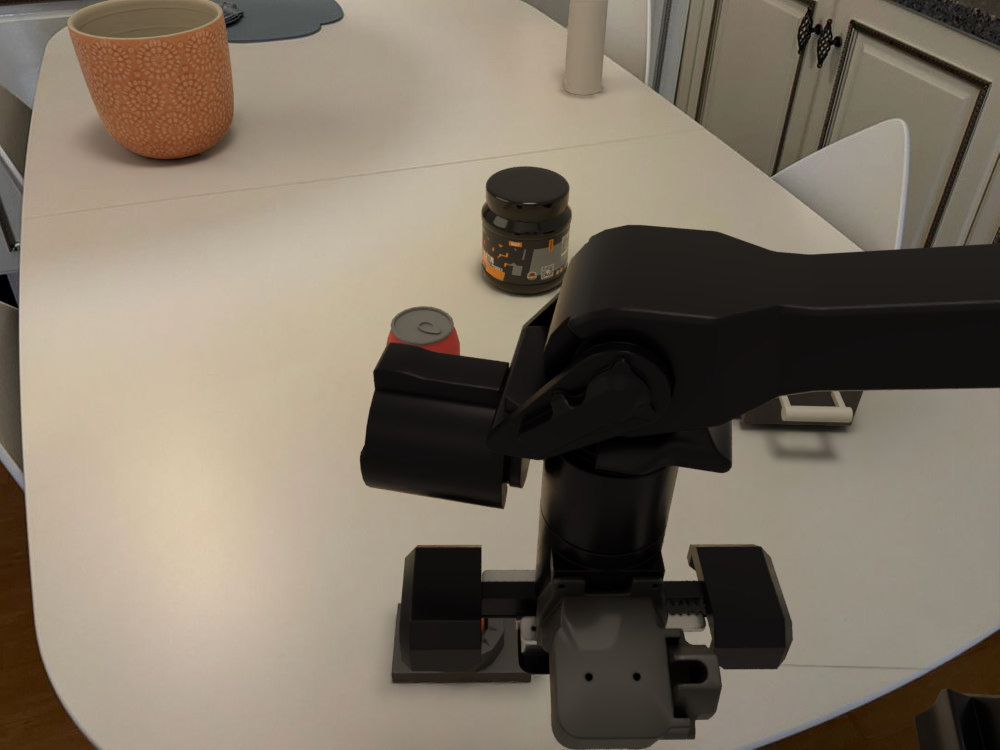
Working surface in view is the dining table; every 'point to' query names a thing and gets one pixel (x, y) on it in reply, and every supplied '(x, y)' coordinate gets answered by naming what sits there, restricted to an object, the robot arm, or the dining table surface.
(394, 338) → the beer can
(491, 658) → the control block
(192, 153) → the planter
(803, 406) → the drawer
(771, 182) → the dining table surface
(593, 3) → the bottle
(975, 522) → the dining table surface
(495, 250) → the supplement container
